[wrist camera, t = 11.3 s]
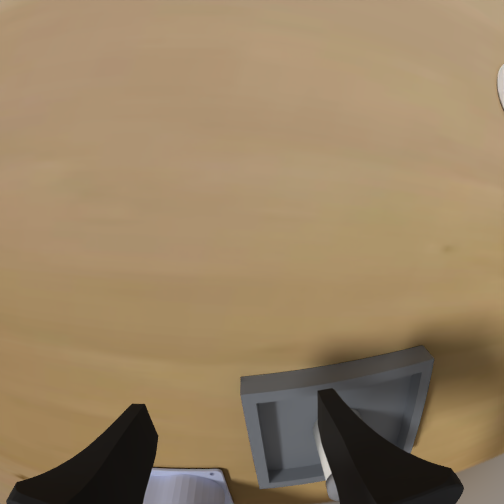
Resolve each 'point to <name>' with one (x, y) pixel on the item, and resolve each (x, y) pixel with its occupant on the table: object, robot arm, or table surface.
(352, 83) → the table surface
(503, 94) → the can
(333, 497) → the shaker
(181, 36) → the table surface
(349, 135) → the table surface
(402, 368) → the tray
